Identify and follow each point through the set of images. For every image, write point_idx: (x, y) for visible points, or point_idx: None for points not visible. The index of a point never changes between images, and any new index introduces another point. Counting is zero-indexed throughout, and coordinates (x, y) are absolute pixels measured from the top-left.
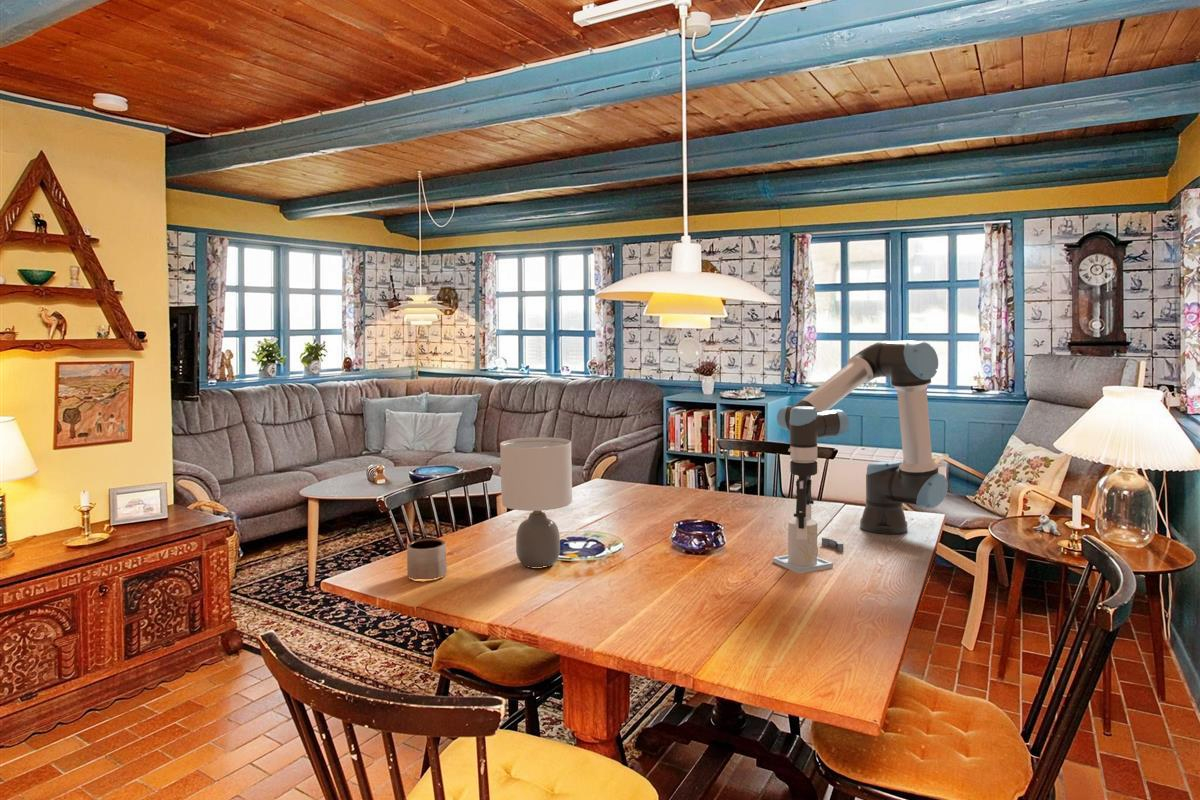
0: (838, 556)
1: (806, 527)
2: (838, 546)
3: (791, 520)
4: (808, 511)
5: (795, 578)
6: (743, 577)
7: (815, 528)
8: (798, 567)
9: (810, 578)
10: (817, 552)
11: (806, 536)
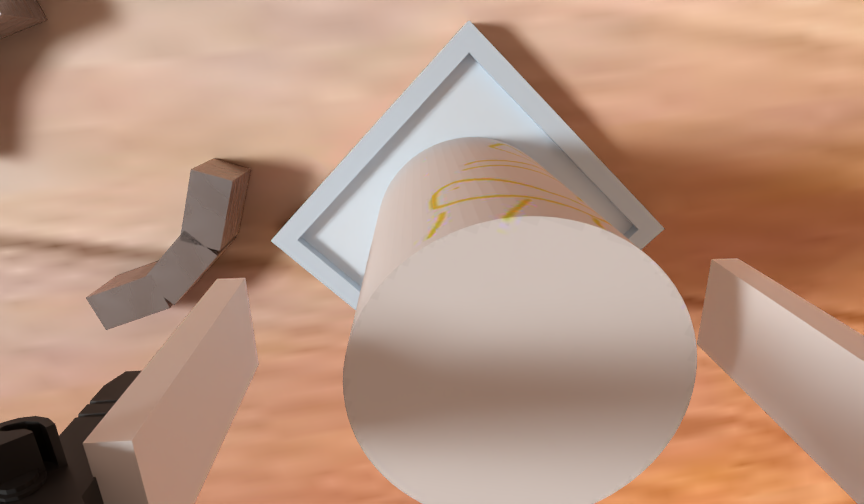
0: (167, 5)
1: (820, 315)
2: (15, 12)
3: (487, 499)
4: (184, 402)
5: (736, 228)
6: (761, 464)
7: (589, 215)
8: (631, 238)
9: (721, 145)
10: (208, 162)
11: (757, 270)
